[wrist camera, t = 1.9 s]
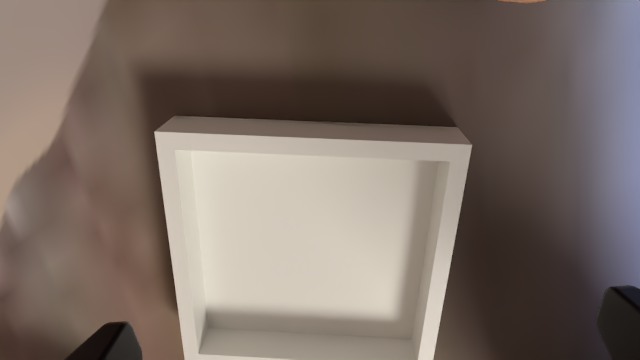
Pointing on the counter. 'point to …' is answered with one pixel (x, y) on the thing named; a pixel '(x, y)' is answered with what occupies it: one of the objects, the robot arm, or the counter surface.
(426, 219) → the tray
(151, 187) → the counter surface
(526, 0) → the peach rounded cylinder
